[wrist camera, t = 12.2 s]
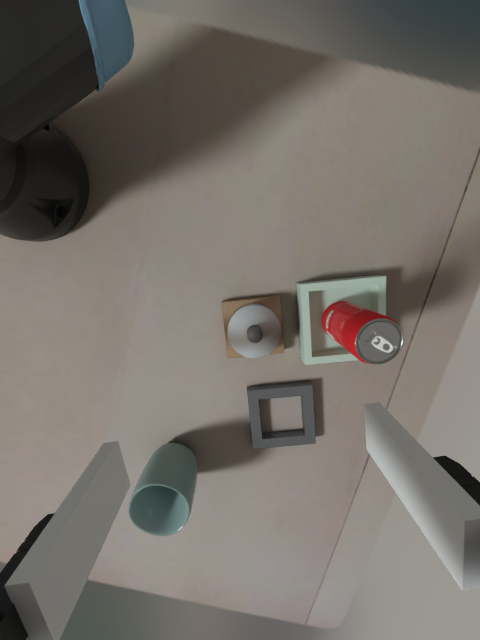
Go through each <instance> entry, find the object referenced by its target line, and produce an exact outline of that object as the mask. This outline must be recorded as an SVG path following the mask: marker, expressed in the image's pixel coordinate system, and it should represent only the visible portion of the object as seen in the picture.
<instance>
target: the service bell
mask: <svg viewBox="0 0 480 640" xmlns="http://www.w3.org/2000/svg"><path fill="white" fill-rule="evenodd" d="M222 310H223V319H224V328H225V337H226V346H227V355H228V358H236V357H248V358H260V357H264V356H266V355H268V354H278V353H284V341H283V327H282V313H281V299H280V296H279V295H277V296H267V297H257V298H247V299H237V300H227V301H222Z"/></svg>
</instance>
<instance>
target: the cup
mask: <svg viewBox="0 0 480 640" xmlns="http://www.w3.org/2000/svg"><path fill="white" fill-rule="evenodd" d="M196 481H197V461H196V457H195V455H194V453H193V452H192V451H191V450H190V449H189V448H188V447H187V446H185V445H183V444H179V443H167V444H165V445H163V446H161V447H160V448H159V449H157V450H156V452H155V453H154V454H153V455H152V456H151V458H150V459H149V461H148V463H147V464H146V466H145V468H144V470H143V472H142V474H141V476H140V478H139V480H138V482H137V484H136V486H135V489H134V491H133V493H132V496H131V499H130V502H129V507H128V512H129V516H130V519H131V521H132V522H133V524H134V525H135V526H136V527H137V528H139V529H140V530H142V531H144V532H146V533H148V534H152V535H156V536H168V535H172V534H174V533H176V532H177V531H179V530H180V529H181V528H182V527H183V526H184V525H185V524H186V522H187V520H188V518H189V515H190V512H191V508H192V503H193V498H194V493H195V487H196Z"/></svg>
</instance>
